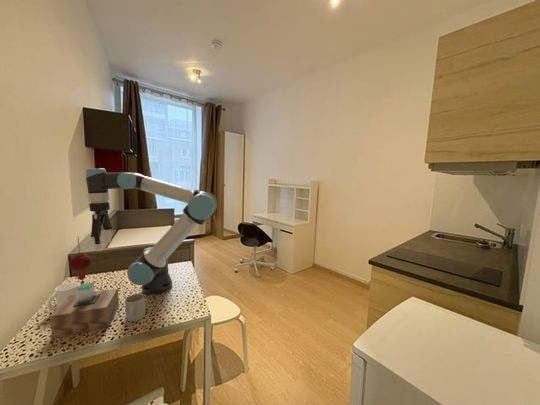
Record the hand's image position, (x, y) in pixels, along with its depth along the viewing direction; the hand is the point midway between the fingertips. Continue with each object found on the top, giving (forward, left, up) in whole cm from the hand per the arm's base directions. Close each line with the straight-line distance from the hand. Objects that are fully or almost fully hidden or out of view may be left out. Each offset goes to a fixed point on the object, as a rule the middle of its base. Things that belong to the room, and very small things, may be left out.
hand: (103, 246), depth 107 cm
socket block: (+3, +14, -28) cm, 32 cm away
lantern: (+17, -20, -29) cm, 39 cm away
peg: (+3, +14, -21) cm, 25 cm away
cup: (-15, +19, -29) cm, 37 cm away
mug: (+17, 0, -29) cm, 33 cm away
